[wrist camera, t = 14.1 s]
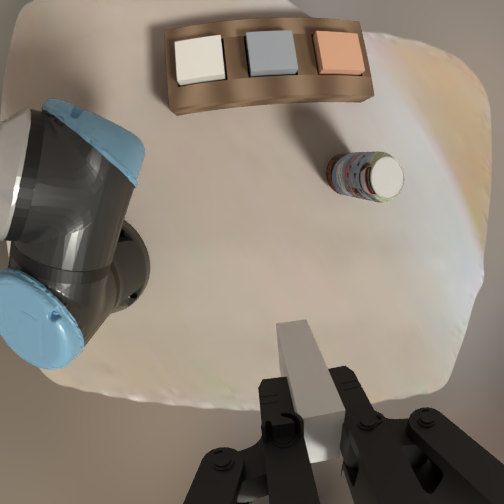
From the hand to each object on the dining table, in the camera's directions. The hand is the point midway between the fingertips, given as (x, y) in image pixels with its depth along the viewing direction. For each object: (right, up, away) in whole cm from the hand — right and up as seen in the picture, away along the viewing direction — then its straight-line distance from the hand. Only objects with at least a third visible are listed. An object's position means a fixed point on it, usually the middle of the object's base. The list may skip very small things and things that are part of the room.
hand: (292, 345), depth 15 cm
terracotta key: (+9, +32, +21) cm, 39 cm away
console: (0, +31, +23) cm, 39 cm away
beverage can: (+12, +16, +28) cm, 34 cm away
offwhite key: (-9, +30, +21) cm, 37 cm away
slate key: (0, +31, +21) cm, 37 cm away
